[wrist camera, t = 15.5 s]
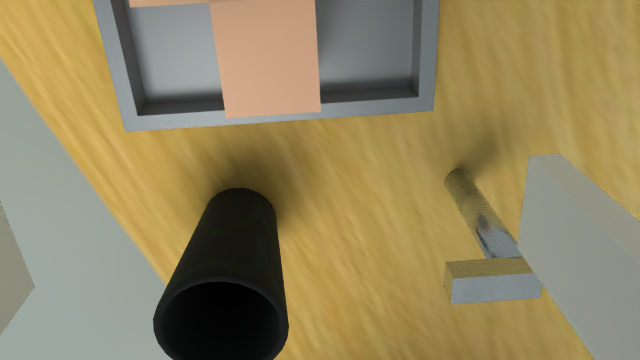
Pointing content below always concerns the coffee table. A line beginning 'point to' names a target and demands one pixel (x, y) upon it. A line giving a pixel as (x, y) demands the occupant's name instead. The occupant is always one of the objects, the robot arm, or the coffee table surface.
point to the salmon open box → (263, 54)
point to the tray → (333, 61)
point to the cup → (227, 285)
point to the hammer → (486, 253)
